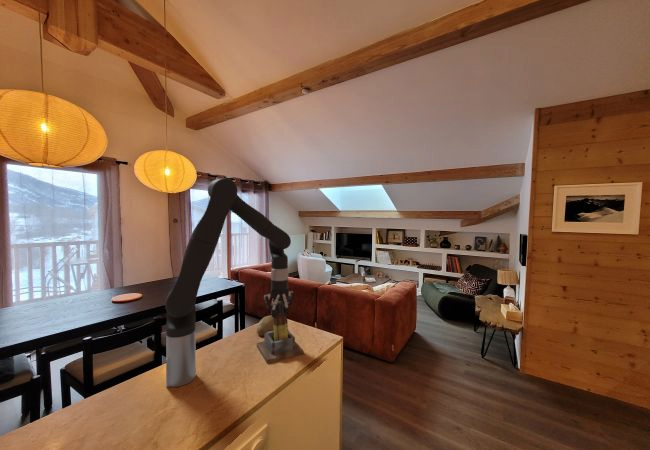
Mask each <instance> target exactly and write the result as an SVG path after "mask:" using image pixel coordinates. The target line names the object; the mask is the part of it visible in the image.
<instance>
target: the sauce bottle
mask: <svg viewBox="0 0 650 450" xmlns="http://www.w3.org/2000/svg"><path fill="white" fill-rule="evenodd" d="M273 322H274V323H273V327H274V342H275V341H279V340H284V339H288V331H289V324H288V317H287V315H286V316H285V312H284V302H283V301H279V302H277V305H276V307H275V318H273Z"/></svg>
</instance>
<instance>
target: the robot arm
mask: <svg viewBox="0 0 650 450" xmlns="http://www.w3.org/2000/svg"><path fill="white" fill-rule="evenodd" d="M207 194H208V196H209V199H208V203H207V207H206V210H205V211H204V213H203V215H202V216H201V218H200V219H199V221H198V223H197V224H196V226H195V227H194V229H193V231H192V233H191V236H190V237H189V239H188V242H187V245H186V249H185V251H184V254H183V259H182V263H181V267H180V271H179V275H178V277H177V279H176V282H175V284H174V286H173V288H172V289H171V290H170V291H169V292H168V294H167V296H166V299H165V302H164V306H165V307H164V308H165V311H166V324H165V325H166V326H165V338H166V339H165V340H166V343H165V345H166V349H165V351H166V355H165V356H166V357H165V373H166V375H165V377H166V378H165V379H166V380H165V381H166V382H165V384H166V385H165V387H166V388H169V387H171V388H173V387H174V388H176V387H182V386H185V385H188V384H190V383H191V382H193V380H195V379H196V375H197V373H196V372H197V370H196V369H197V367H196V365H197V364H196V363H197V362H196V361H197V360H196V359H197V358H196V351H197V349H196V342H197V341H196V336H197V335H196V301H197V296H198V292H199V289H200V285H201V282H202V279H203V277H204V275H205V273H206V271H207V269H208V268H209V265H210V262H211V261H212V259H213V256H214V253H215V252H216V248H217V246H218V242H219V239H220V237H221V234H222V232H223V228H224V225H225V221H226V218H227V217H228V214H229V212H232V213H234V214H235V215H236V216H238V218H239V219H241V220H242V221H243V222H244V223H245V224H247V225H248V226H249V227H250V228H251V229H252V230H254V231H255V232H256V233H257V234H259V235H260V236H261V237H263V238H266V239H268V247H269V252H270V256H271V269H270V292H269V293H268V294H264V295H263V299H264V301H265V302H264V303H265V305H266V309H268V310H270V315H271V316H272V317H273V318H275V310H276V309H275V307H276V305H277V302H279V301H283V302H284V312H285V316H286V317H287V316H288V308H289V307H290V306H292V305H293V301H294V298H295V295H296V294H295V293H296V292H294V291H293V290H291V291H290V290H289V266H288V265H289V263H288V262H289V258H288V255H287V254H286V253H285V250H286V249H288V248H289V247H290V246H291V243H292V242H291V241H292V240H291V237H290V235H289V234H288V233H287V232H286V231H284V230H283V229H282V228H280V227H279V226H277V225H275V224H274V223H273V222H272V221H271V220H270V219H268V218H267V217H266V216H265V215H264V214H263V213H261V212H260V211H259V210H257V209H256V208H254V207H252V206H251V205H249V203H247V202H245V201H244V200H243V199H242V198H241V197H240V196H239V195H238V187H237V184H236V183H235V181H234V180H232V179H231V178H228V177H223V178H222V177H221V178H218V179H214V180H212V181H211V182H210V183H209V184H208V186H207ZM287 297H288V298H287ZM270 298H272V299H271V303H270Z"/></svg>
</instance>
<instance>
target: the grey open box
mask: <svg viewBox="0 0 650 450" xmlns="http://www.w3.org/2000/svg"><path fill="white" fill-rule="evenodd" d="M263 337H264V340H263V341H258V342H256V348H257V349H258V351H259V353H260V354H261V356H262V358H263V359H264V360H265V362H266V364H271V363H275V362H278V361H281V360H285V359H289V358H292V357H296V356H301V355H303V354H304V349H303V348H302V347H301V346H300V345H299V344H298V343H297V342H296V338H295V335H293V334H292V333H291V331H289V330H288V339H284V340H279V341H275V342H274V331H270V332H267V333H264V336H263Z"/></svg>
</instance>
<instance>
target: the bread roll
mask: <svg viewBox="0 0 650 450" xmlns="http://www.w3.org/2000/svg"><path fill="white" fill-rule="evenodd" d="M273 323H274V322H273V317H272V316H271V314H270V315H267V316H264V317H263V318H261V319H260V321H259V322H258V324H257V326H256V333H257V335H258V336H260V337H264V333H267V332H270V331H274V327H273Z"/></svg>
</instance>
